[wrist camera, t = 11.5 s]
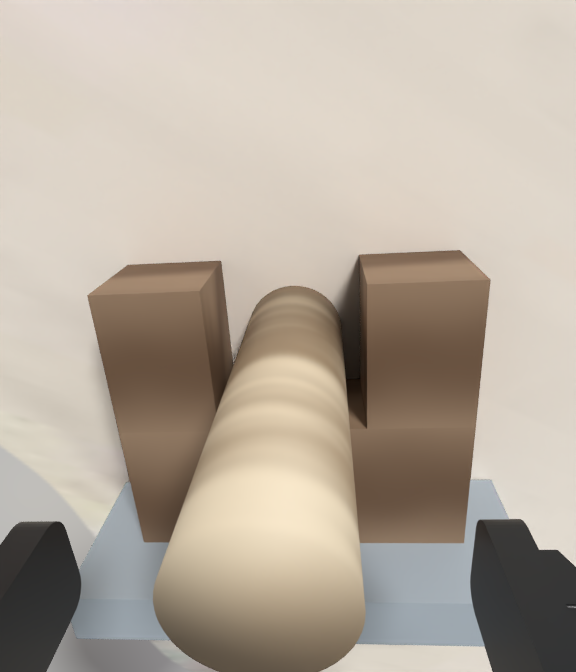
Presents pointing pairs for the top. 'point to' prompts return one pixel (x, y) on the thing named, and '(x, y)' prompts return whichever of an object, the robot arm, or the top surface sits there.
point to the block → (362, 394)
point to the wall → (377, 569)
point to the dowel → (271, 506)
